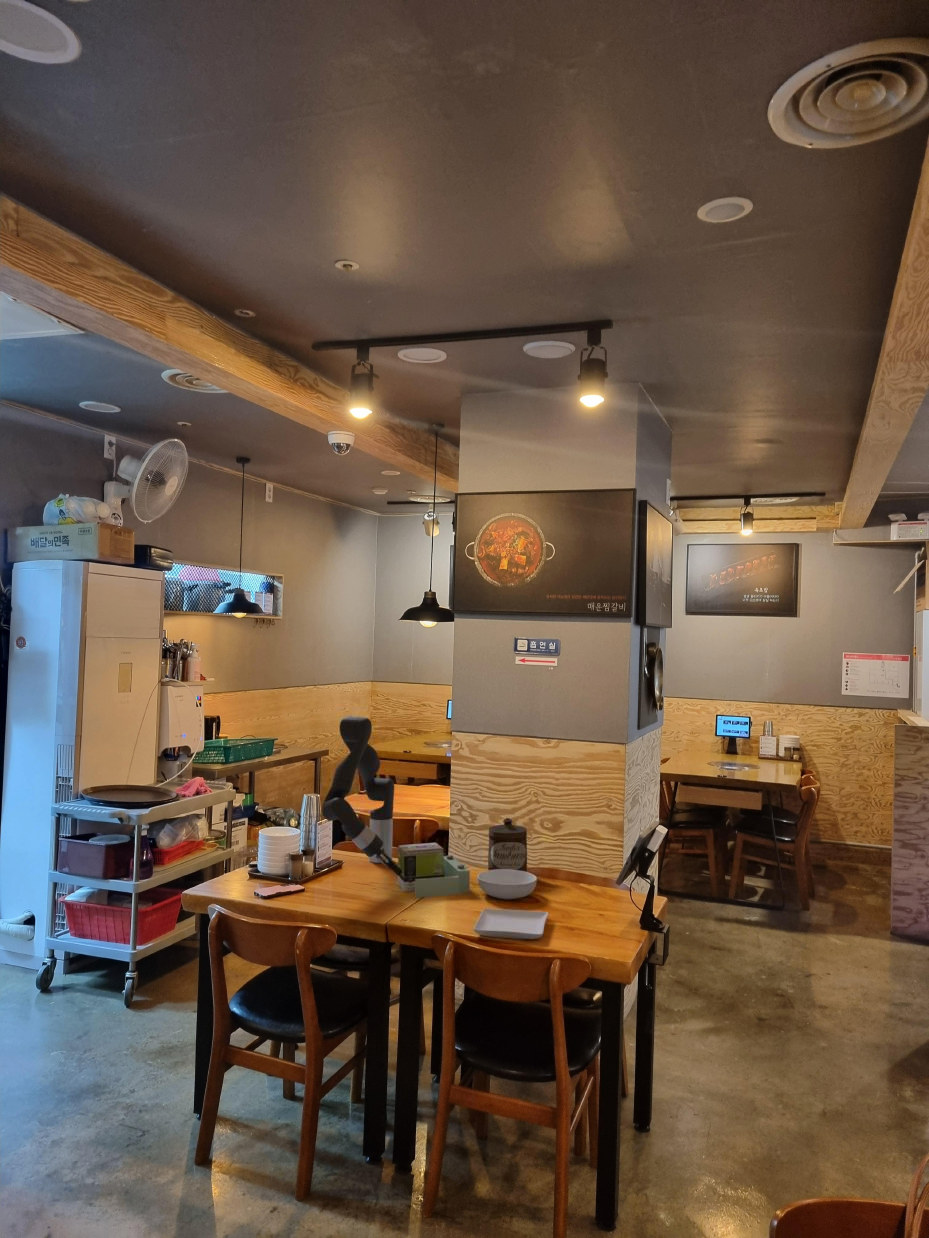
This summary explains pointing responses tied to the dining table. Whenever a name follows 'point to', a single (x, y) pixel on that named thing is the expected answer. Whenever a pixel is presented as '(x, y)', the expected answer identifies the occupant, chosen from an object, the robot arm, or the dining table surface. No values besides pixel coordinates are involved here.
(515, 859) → the wooden container
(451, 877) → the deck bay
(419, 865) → the tea box
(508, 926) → the salad plate
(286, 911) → the dining table surface
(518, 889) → the serving bowl
